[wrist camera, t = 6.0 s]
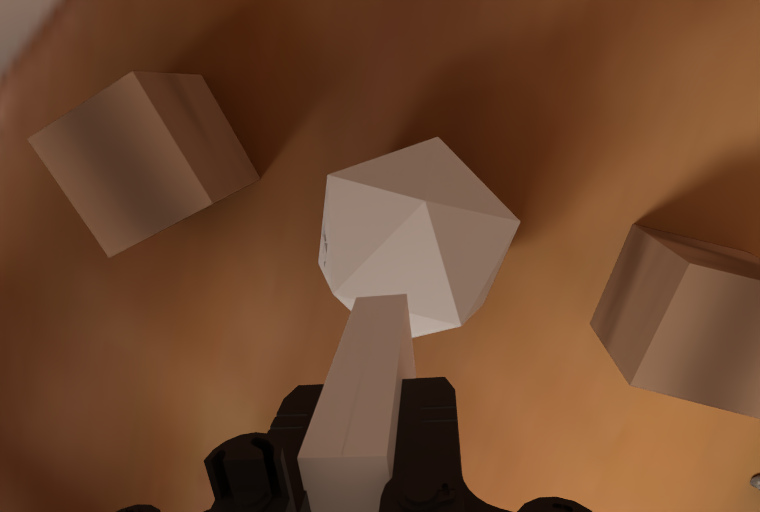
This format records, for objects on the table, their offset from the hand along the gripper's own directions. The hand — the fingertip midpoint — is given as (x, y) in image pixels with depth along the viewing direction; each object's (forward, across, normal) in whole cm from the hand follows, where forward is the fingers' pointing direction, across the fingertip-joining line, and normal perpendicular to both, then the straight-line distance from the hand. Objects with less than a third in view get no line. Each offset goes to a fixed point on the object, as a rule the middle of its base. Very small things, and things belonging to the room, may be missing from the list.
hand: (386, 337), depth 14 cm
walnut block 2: (+13, -13, +5) cm, 19 cm away
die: (+13, 0, 0) cm, 13 cm away
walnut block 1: (+13, +12, -5) cm, 18 cm away
